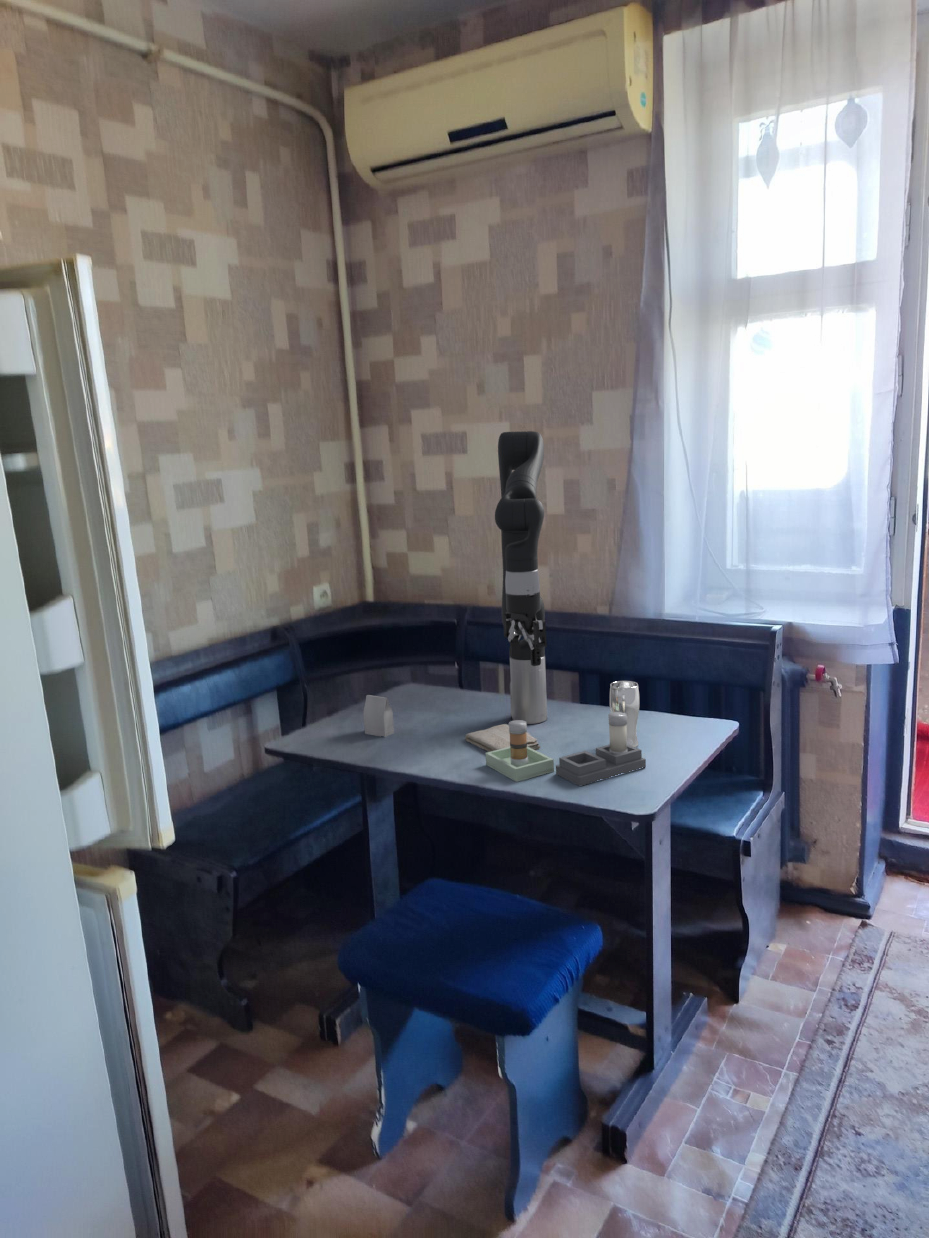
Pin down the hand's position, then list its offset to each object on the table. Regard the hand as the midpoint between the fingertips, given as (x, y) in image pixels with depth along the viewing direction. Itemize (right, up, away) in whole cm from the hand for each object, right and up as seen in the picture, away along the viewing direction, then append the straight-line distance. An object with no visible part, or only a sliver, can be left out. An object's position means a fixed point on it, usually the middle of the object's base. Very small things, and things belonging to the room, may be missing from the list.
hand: (525, 661), depth 202 cm
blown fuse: (-1, -24, +3) cm, 24 cm away
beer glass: (+25, -21, +15) cm, 36 cm away
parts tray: (-1, -24, +4) cm, 25 cm away
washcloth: (-4, -22, +20) cm, 30 cm away
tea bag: (-36, -21, +34) cm, 53 cm away
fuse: (+21, -22, +1) cm, 30 cm away
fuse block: (+17, -24, -1) cm, 30 cm away
